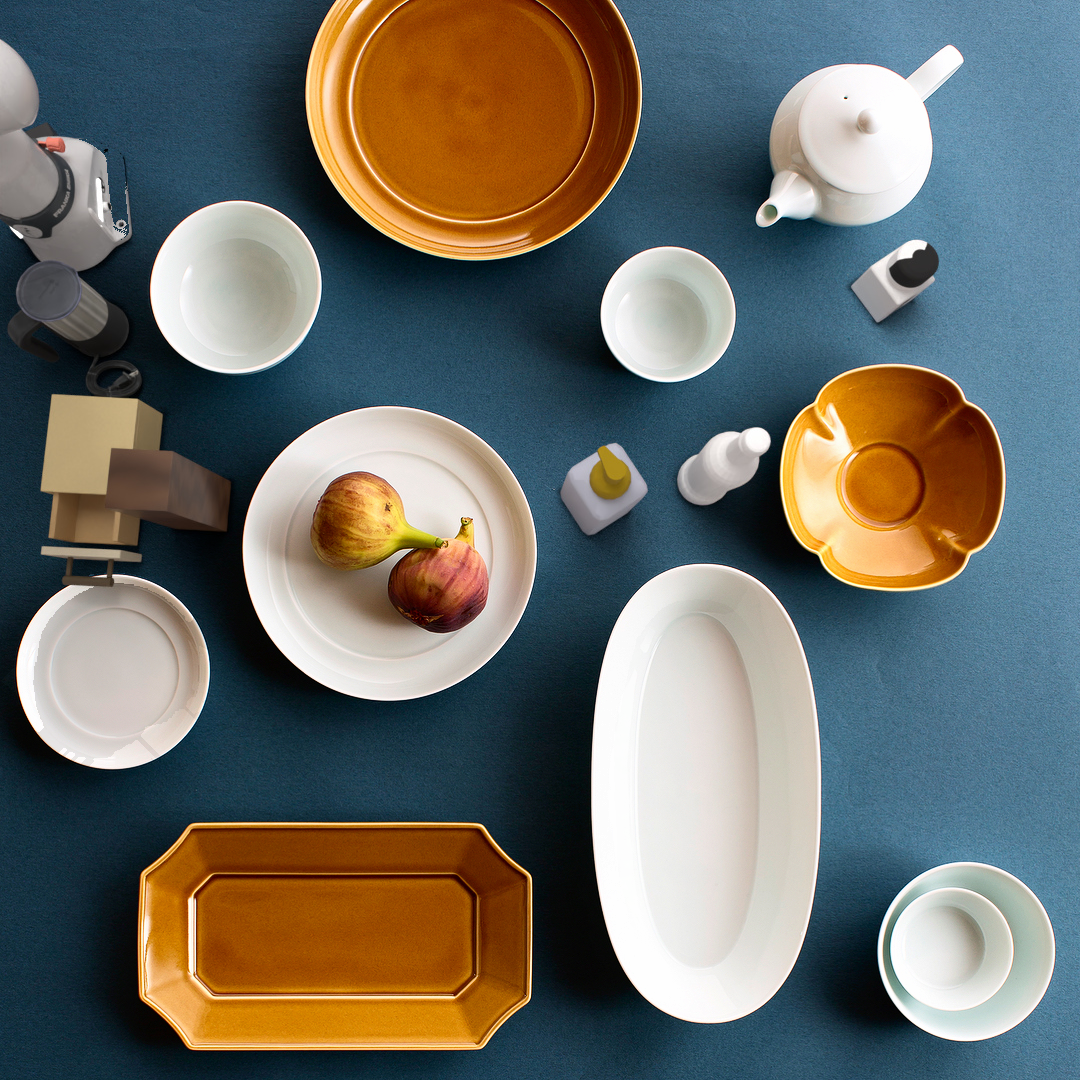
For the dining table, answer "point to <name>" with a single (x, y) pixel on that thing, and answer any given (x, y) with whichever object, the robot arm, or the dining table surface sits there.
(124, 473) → the stand
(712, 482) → the bottle
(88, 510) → the drawer
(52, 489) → the cabinet
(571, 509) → the soap bottle
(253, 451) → the dining table surface
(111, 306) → the milk frother
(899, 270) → the container
